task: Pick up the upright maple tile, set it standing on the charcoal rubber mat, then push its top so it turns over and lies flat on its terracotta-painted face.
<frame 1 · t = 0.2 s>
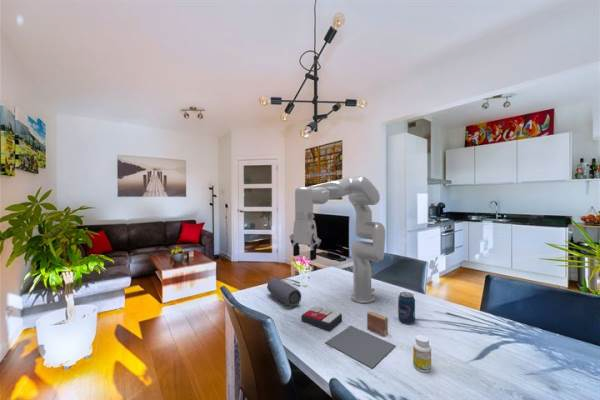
hand: (304, 257, 103), 31 cm above the table, tool pointing down, fingers open, 9 cm apart
soda can: (406, 321, 110), on the table
mat: (360, 344, 93), on the table
red and cream box: (321, 322, 111), on the table
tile: (377, 331, 102), on the table
supplement bottle: (422, 367, 81), on the table
bluetooth speaker: (283, 301, 133), on the table
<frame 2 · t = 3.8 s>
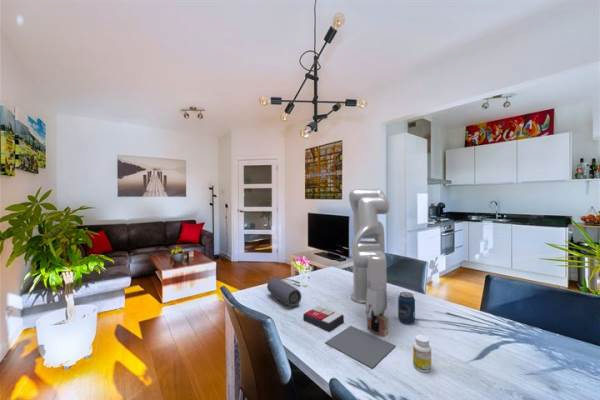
hand: (377, 328, 102), 1 cm above the table, tool pointing down, fingers open, 3 cm apart
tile: (377, 331, 102), on the table, touching gripper
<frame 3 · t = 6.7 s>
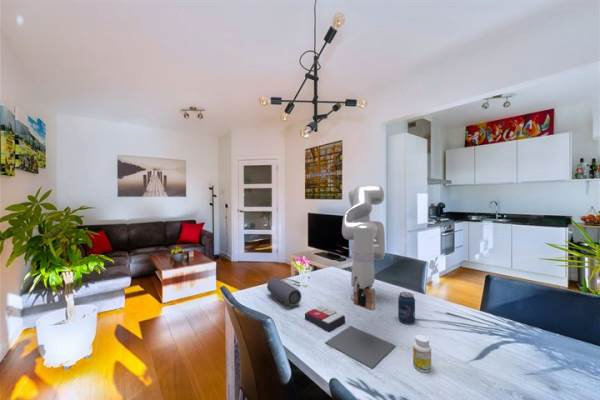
hand: (364, 303, 95), 15 cm above the table, tool pointing down, fingers closed on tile, 2 cm apart
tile: (364, 306, 95), point 14 cm above the table, touching gripper
when the fingers open (3 cm above the table, at t = 9.6 s): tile stays where it is, resting on mat.
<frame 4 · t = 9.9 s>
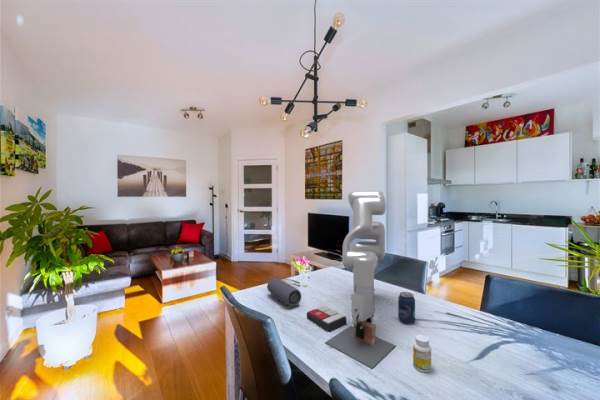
hand: (364, 334, 95), 3 cm above the table, tool pointing down, fingers open, 5 cm apart
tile: (364, 340, 95), resting on mat
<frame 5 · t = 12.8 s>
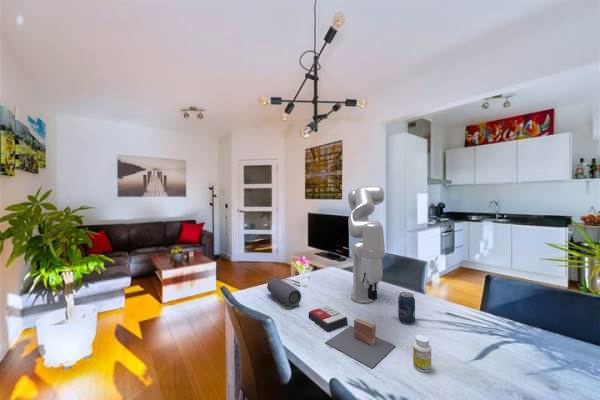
hand: (372, 298, 99), 15 cm above the table, tool pointing down, fingers closed
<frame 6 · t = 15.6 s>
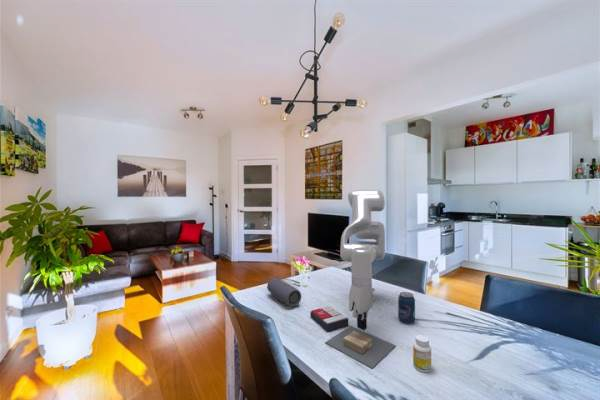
hand: (362, 328, 94), 6 cm above the table, tool pointing down, fingers closed
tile: (362, 337, 94), point 2 cm above the table, tilted 90°, touching mat
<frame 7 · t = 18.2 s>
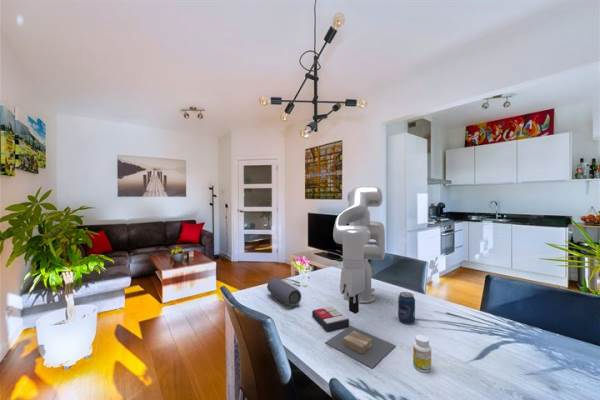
hand: (353, 311, 91), 14 cm above the table, tool pointing down, fingers closed
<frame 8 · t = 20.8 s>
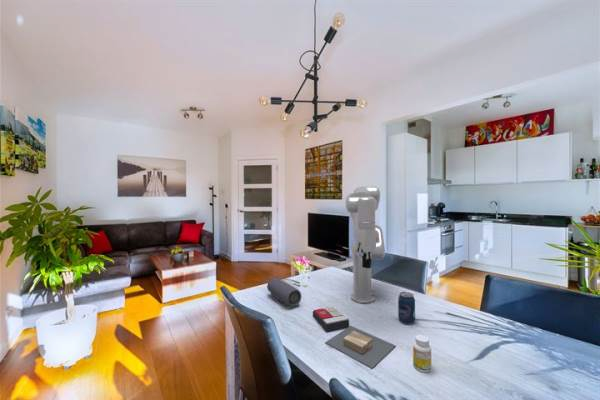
hand: (366, 267, 108), 25 cm above the table, tool pointing down, fingers closed
at the end: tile tilted 90°; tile inside the target area on the mat (1.9 cm from its centre), point 1.9 cm above the mat's base; the gripper is holding nothing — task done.
